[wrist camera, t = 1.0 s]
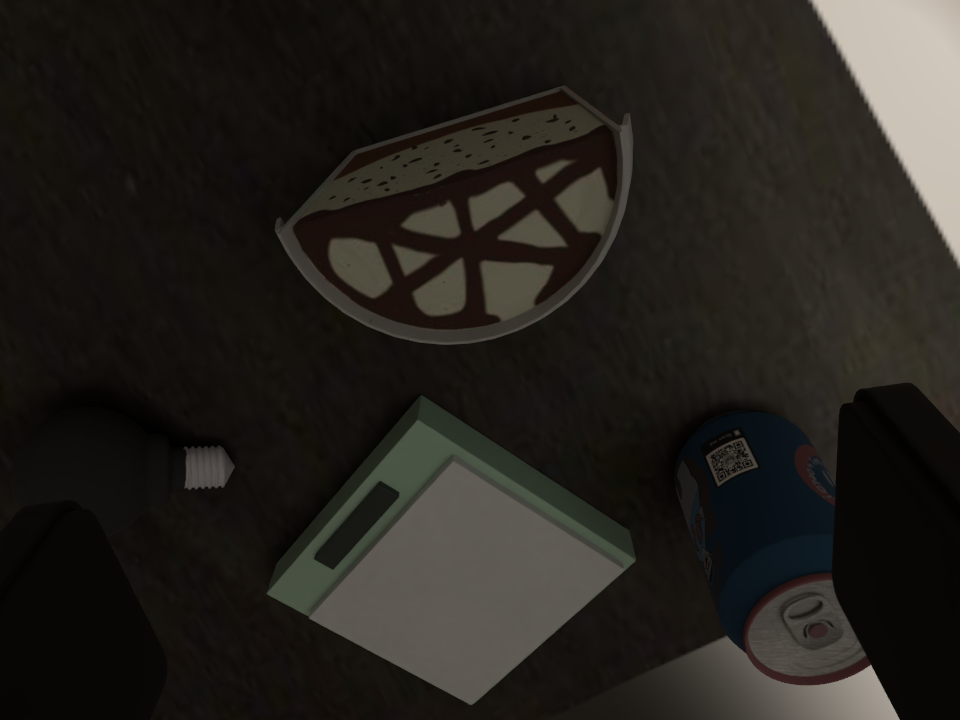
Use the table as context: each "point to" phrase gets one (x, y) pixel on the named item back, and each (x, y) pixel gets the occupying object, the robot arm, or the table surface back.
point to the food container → (468, 220)
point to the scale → (450, 555)
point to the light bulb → (109, 466)
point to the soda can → (768, 545)
